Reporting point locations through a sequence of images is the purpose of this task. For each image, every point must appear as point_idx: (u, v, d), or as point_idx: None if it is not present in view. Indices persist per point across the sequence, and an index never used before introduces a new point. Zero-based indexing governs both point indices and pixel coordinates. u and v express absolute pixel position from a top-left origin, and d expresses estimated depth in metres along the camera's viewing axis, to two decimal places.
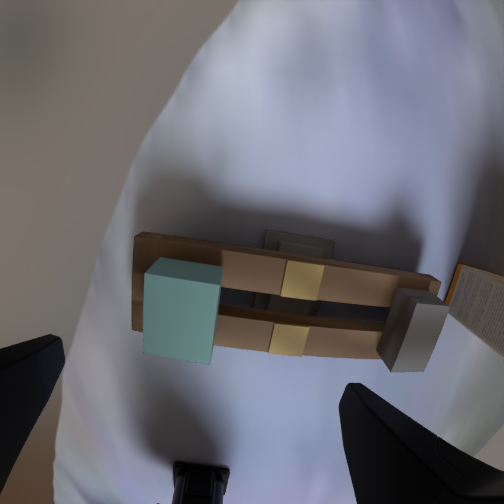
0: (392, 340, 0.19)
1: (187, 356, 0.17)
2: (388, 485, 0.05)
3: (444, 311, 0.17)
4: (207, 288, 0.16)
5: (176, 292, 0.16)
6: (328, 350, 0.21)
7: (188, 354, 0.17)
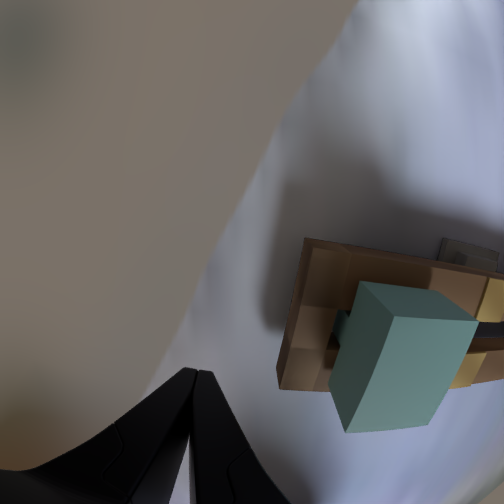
0: None
1: (406, 422, 0.10)
2: (190, 487, 0.05)
3: None
4: (466, 328, 0.09)
5: (429, 339, 0.09)
6: (490, 374, 0.14)
7: (408, 420, 0.10)
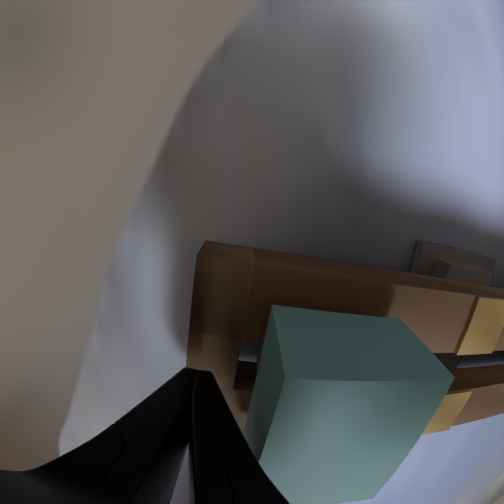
0: None
1: (337, 498, 0.06)
2: (189, 487, 0.05)
3: None
4: (431, 390, 0.05)
5: (361, 409, 0.05)
6: (477, 413, 0.11)
7: (340, 495, 0.06)
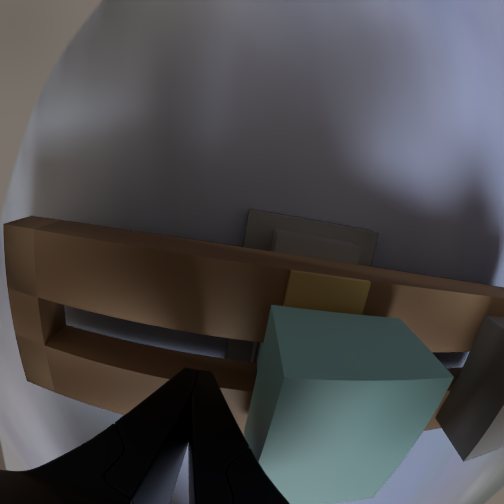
0: (472, 409, 0.08)
1: (338, 498, 0.06)
2: (189, 487, 0.05)
3: None
4: (430, 389, 0.05)
5: (360, 408, 0.05)
6: None
7: (341, 495, 0.06)
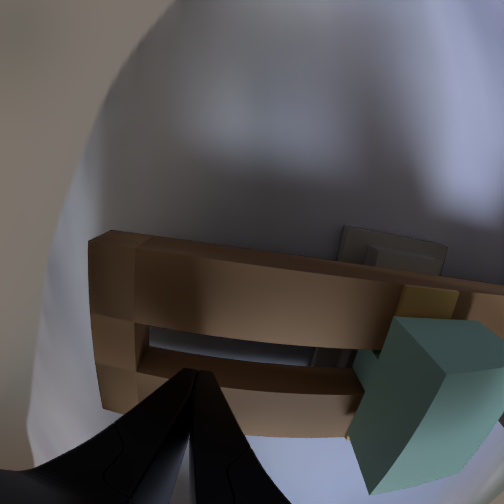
0: None
1: (438, 475, 0.07)
2: (190, 487, 0.05)
3: None
4: None
5: (479, 392, 0.06)
6: None
7: (441, 472, 0.07)
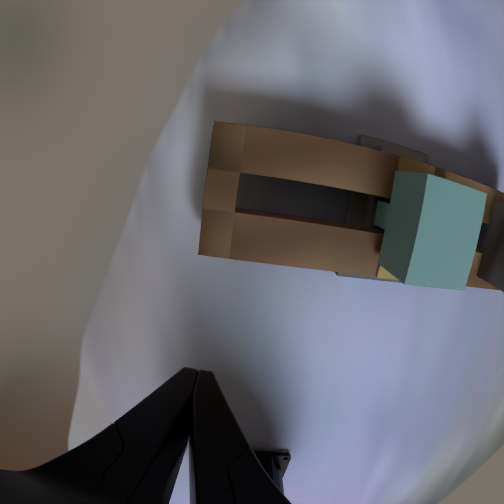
0: (499, 257, 0.14)
1: (448, 282, 0.13)
2: (190, 487, 0.05)
3: None
4: (478, 197, 0.11)
5: (454, 199, 0.12)
6: None
7: (449, 279, 0.13)
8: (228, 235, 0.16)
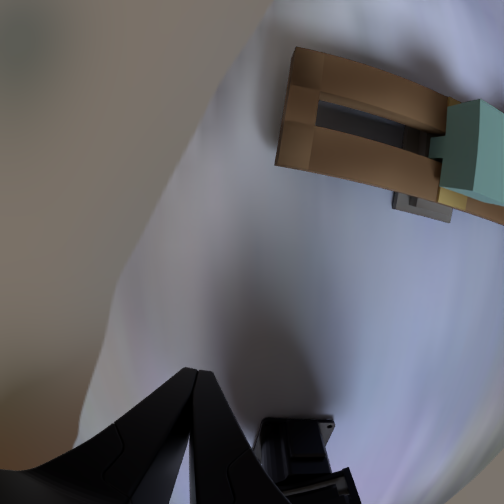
0: None
1: None
2: (190, 487, 0.05)
3: None
4: None
5: (500, 124, 0.11)
6: (483, 208, 0.16)
7: None
8: (308, 146, 0.15)
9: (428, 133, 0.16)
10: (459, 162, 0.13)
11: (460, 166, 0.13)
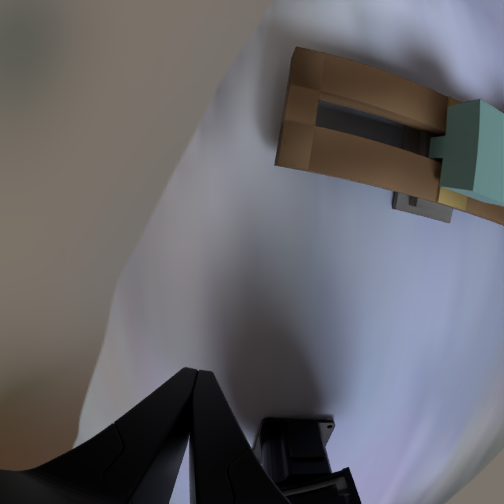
0: None
1: None
2: (190, 487, 0.05)
3: None
4: None
5: (500, 124, 0.11)
6: (483, 208, 0.16)
7: None
8: (308, 146, 0.15)
9: (428, 133, 0.16)
10: (459, 162, 0.13)
11: (460, 166, 0.13)
